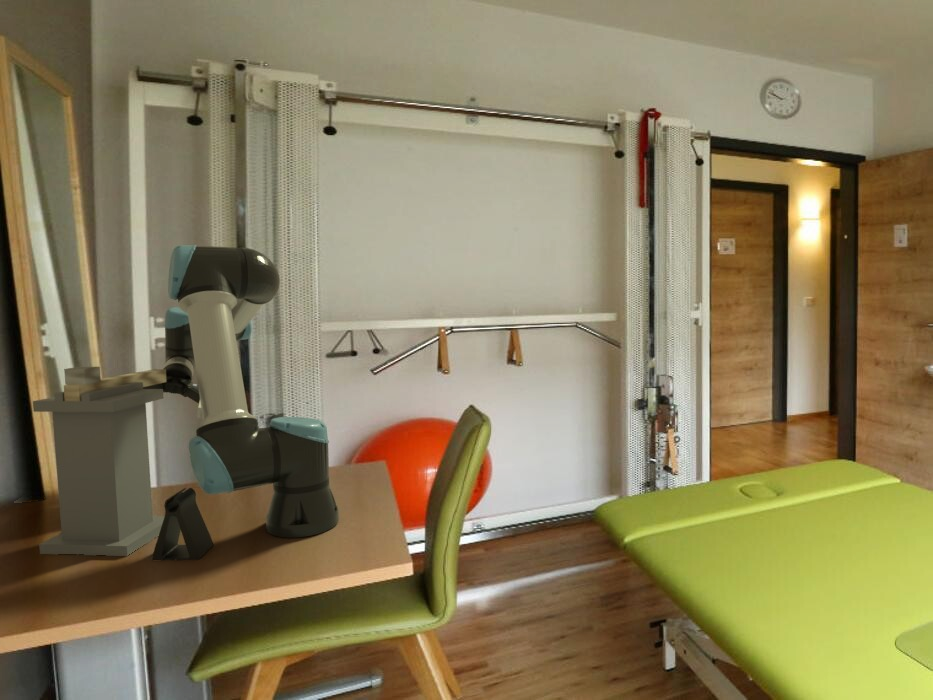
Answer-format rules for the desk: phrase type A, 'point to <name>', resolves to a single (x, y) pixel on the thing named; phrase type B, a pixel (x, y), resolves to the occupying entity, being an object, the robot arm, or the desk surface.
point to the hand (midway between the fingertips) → (167, 409)
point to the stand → (102, 471)
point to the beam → (104, 380)
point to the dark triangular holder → (182, 529)
